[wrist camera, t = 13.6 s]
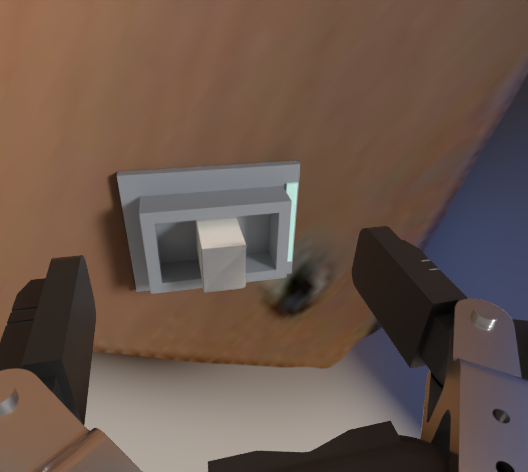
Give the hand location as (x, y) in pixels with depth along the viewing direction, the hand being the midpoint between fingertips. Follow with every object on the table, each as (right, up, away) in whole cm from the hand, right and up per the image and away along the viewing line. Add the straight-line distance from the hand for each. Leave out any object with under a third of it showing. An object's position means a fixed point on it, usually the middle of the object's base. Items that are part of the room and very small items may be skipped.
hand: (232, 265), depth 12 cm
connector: (-4, +1, +32) cm, 33 cm away
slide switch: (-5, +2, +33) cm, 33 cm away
